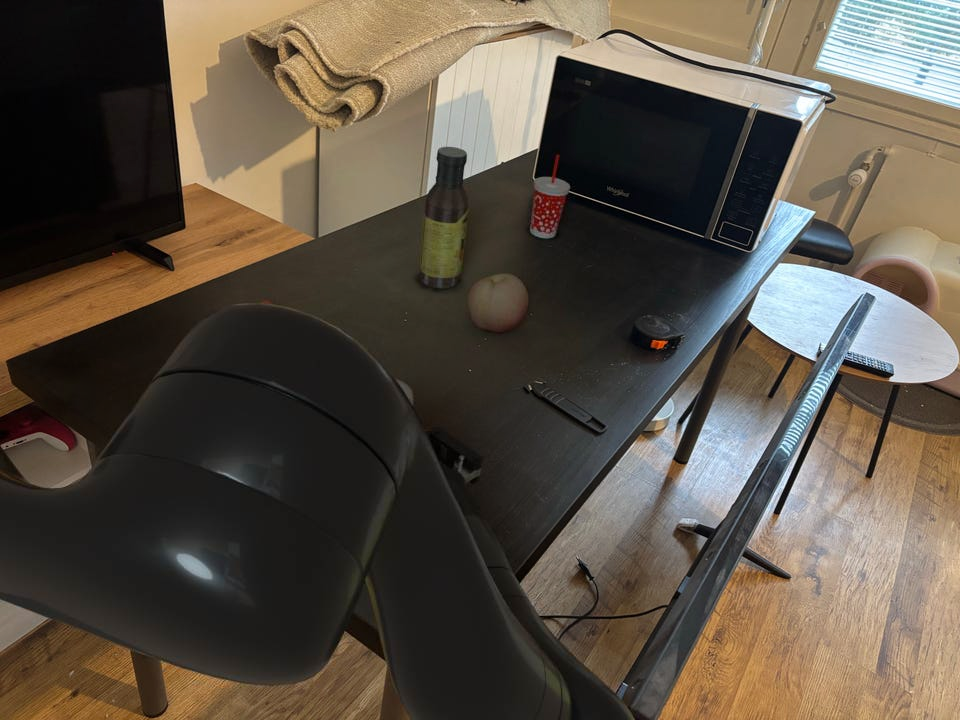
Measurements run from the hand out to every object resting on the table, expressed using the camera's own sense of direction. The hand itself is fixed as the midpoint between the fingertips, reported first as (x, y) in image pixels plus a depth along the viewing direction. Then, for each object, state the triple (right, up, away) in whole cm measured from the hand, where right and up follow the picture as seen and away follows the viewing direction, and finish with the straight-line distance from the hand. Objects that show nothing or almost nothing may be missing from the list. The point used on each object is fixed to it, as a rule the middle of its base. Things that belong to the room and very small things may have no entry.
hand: (375, 415), depth 69 cm
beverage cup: (+21, +27, +60) cm, 69 cm away
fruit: (+12, +10, +33) cm, 36 cm away
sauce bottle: (+4, +17, +42) cm, 45 cm away
